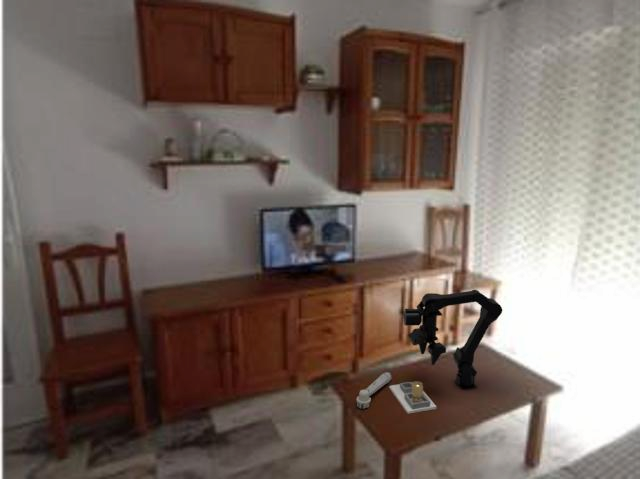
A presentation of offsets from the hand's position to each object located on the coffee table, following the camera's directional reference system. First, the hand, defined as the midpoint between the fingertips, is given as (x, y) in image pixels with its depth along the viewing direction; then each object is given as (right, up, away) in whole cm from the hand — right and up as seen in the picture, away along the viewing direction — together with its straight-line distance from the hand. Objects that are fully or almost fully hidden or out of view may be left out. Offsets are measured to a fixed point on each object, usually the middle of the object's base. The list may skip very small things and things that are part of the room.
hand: (427, 359), depth 184 cm
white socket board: (-8, -14, -6) cm, 17 cm away
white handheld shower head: (-22, -14, -2) cm, 26 cm away
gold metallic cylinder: (-7, -14, -10) cm, 19 cm away
